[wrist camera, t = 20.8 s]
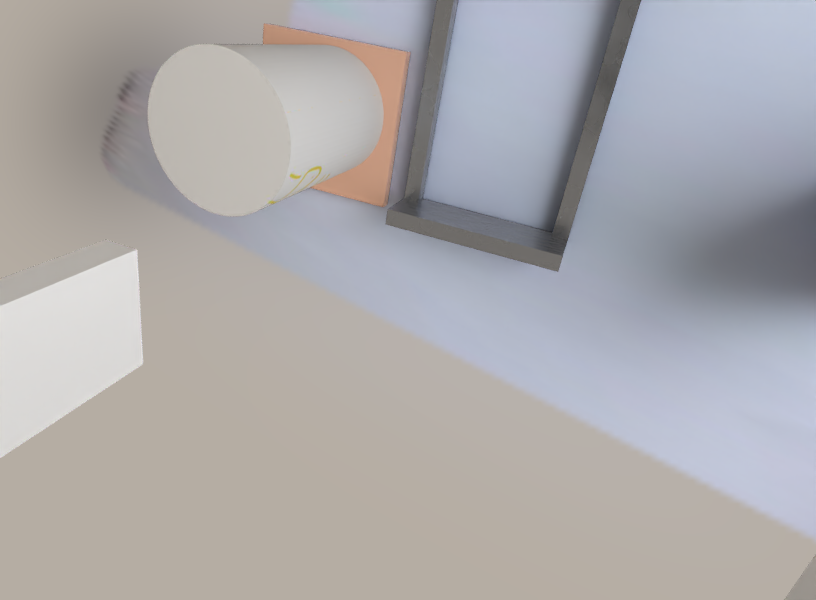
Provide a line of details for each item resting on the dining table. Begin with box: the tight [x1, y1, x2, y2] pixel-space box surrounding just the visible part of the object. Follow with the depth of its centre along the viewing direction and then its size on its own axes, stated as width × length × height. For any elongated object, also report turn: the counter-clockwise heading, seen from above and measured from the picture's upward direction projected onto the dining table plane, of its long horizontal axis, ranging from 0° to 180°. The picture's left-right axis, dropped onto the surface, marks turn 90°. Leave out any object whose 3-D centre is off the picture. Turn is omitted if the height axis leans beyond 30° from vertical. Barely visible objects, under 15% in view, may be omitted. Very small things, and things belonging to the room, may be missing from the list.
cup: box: [148, 44, 384, 217], centre depth 33 cm, size 8×8×12 cm
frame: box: [386, 0, 641, 272], centre depth 33 cm, size 19×11×4 cm, turn 170°
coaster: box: [263, 24, 411, 207], centre depth 39 cm, size 10×10×1 cm
